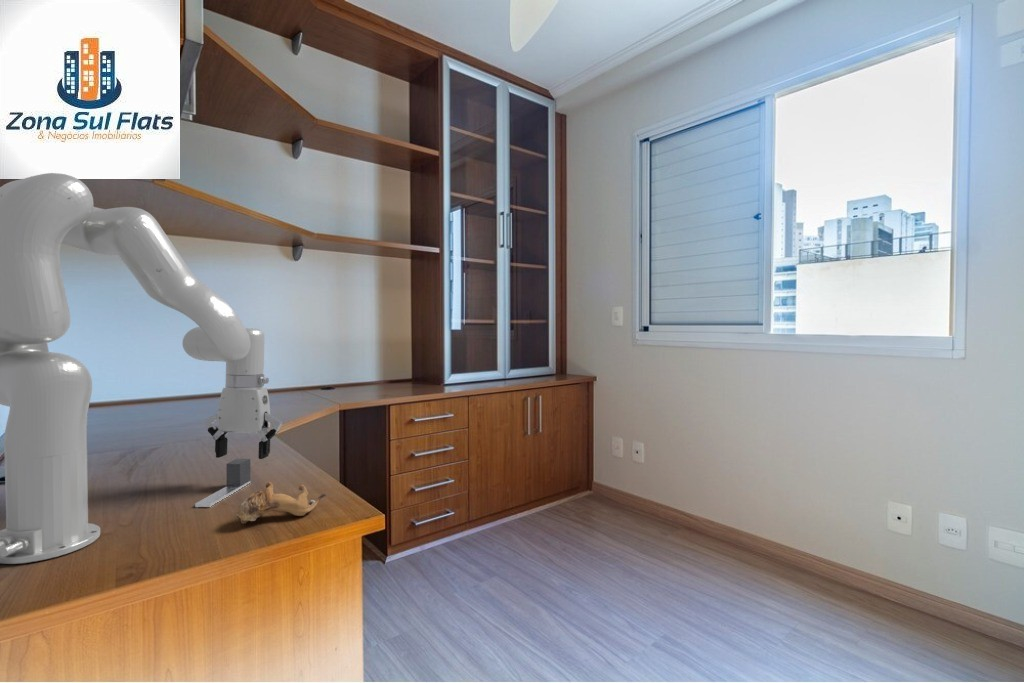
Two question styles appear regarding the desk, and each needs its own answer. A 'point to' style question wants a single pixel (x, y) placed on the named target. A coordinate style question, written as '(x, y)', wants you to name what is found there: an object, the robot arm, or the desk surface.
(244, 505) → the lion figurine
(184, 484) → the desk surface
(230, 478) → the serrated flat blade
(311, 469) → the desk surface
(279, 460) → the desk surface
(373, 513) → the desk surface
